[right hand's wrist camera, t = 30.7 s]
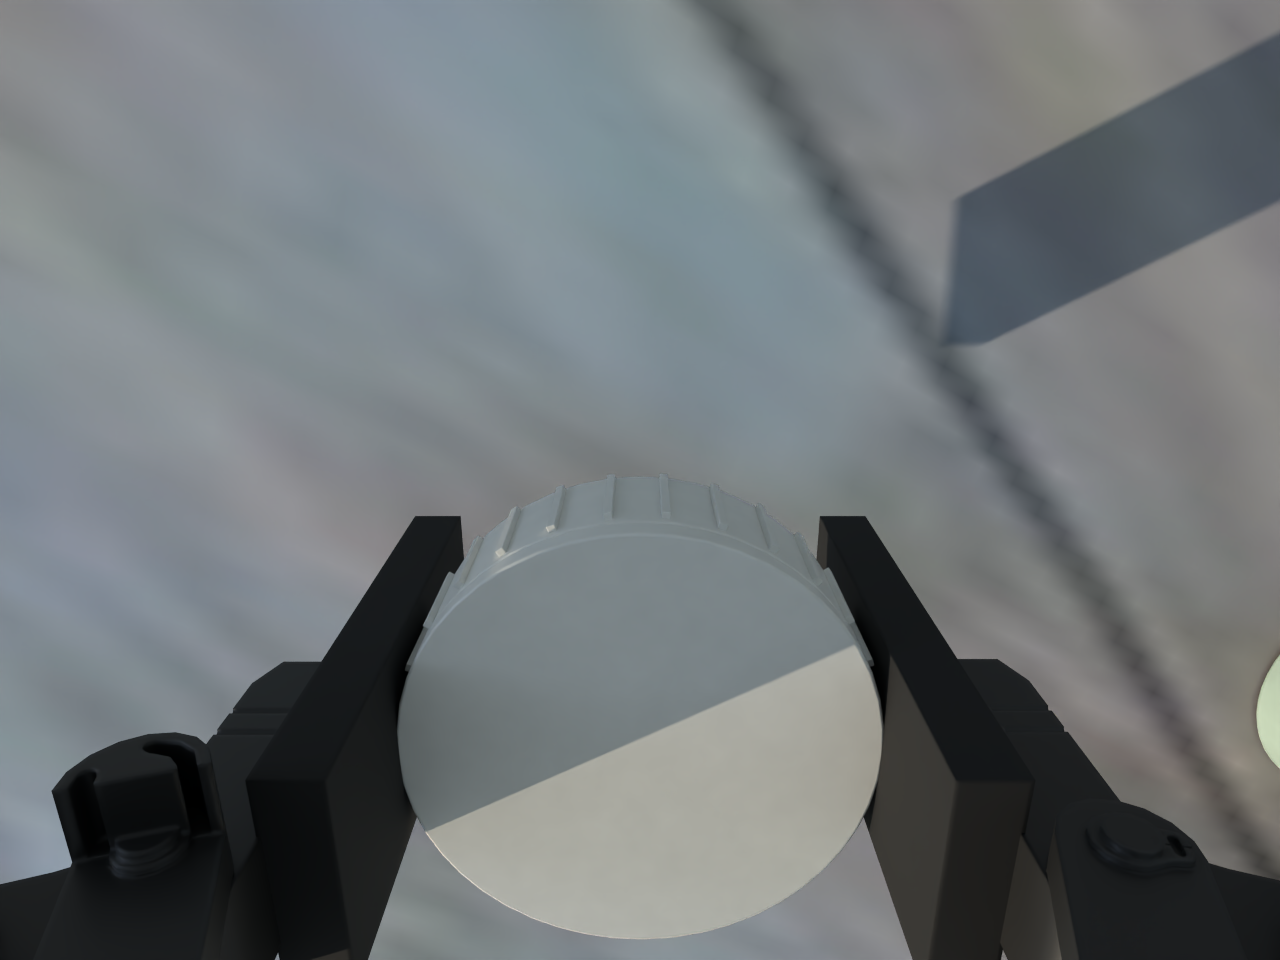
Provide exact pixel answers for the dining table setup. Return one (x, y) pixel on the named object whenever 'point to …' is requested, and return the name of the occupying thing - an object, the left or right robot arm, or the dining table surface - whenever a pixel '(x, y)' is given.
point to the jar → (1270, 713)
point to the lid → (640, 711)
